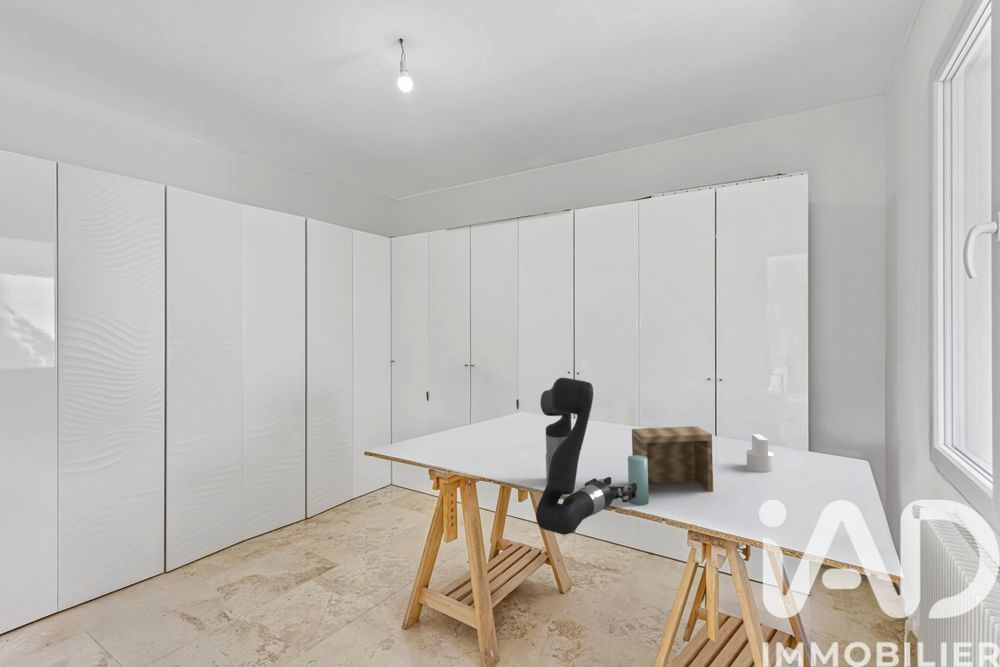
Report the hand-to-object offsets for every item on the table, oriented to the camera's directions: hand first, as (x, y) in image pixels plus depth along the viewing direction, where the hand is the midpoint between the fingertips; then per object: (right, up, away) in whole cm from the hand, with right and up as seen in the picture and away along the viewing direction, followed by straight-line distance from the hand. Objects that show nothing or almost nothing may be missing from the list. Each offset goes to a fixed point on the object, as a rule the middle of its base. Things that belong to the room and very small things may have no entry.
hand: (622, 483), depth 146 cm
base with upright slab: (+60, -6, +35) cm, 70 cm away
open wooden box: (+22, -7, +19) cm, 30 cm away
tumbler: (+7, -8, +7) cm, 13 cm away
